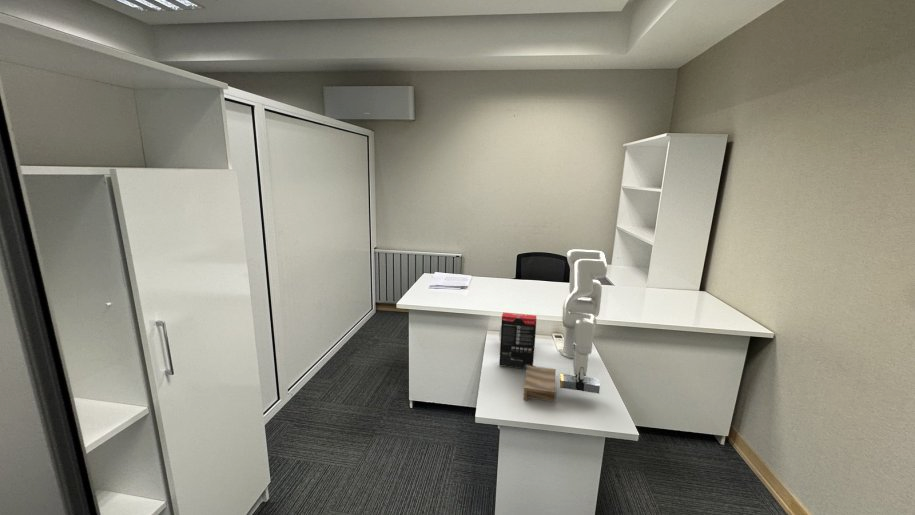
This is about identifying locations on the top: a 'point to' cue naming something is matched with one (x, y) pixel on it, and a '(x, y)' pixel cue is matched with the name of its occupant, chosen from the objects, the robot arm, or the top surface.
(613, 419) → the top surface
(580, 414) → the top surface
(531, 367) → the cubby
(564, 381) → the slab
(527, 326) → the graphics card box
